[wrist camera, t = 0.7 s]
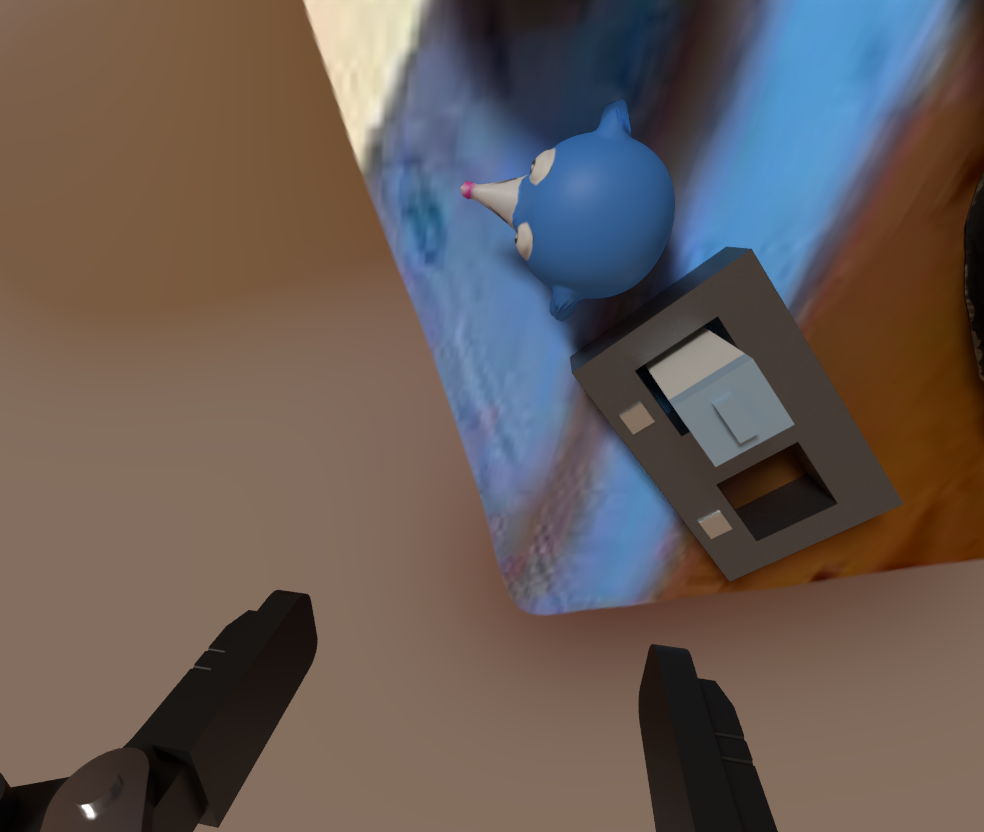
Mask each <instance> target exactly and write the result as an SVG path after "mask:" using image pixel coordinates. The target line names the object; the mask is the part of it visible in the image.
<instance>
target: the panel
mask: <svg viewBox="0 0 984 832" xmlns="http://www.w3.org/2000/svg"><path fill="white" fill-rule="evenodd" d="M708 322H709V323H710V325H711V326H712V328H713V330H714V331H715V333H716V334H717V336H719V337H720V338H722V339H723V340H725V341H726V342H728V343H730V344H731V345H733V346H734V347H736V348H737V349H739V350H740V351H742V352H743V353H745V354H747V355H748V356H750V357H751V358H753V360H754V361H755V363H756V364H757V366H758V367H759V369H760V371H761V372H762V374H763V375H764V377H765V378H766V380H767V382H768V383H769V385H770V386H771V388H772V389H773V391H774V393H775V394H776V396H777V397H778V399H779V400H780V402H781V404H782V405H783V407H784V408H785V410H786V411H787V413H788V415H789V416H790V418H791V419H792V421H793V423H794V424H795V425H793V426H791V427H789V428H787V429H785V430H784V431H782V432H780V433H778V434H776V435H774V436H772V437H771V438H769V439H767V440H765V441H763V442H761V443H759V444H758V445H756V446H754V447H752V448H750V449H748V450H746V451H745V452H743V453H741V454H739V455H737V456H735V457H734V458H732V459H730V460H728V461H726V462H724V463H722V464H721V465H719V466H717V467H715V466H714V464H713V463H712V461H711V460H710V458H709V457H708V456H707V454H706V453H705V451H704V450H703V449H702V447H701V446H700V444H699V443H698V442H697V440H696V439H695V437H694V436H693V434H692V433H691V432H690V430H689V429H688V427H687V426H686V425H685V423H684V422H683V420H682V419H681V417H680V416H679V415H678V413H677V412H676V410H674V411H672V412H670V413H669V414H667V412H666V411H665V410H664V408H663V407H662V405H661V404H660V403H659V401H658V400H657V398H656V397H655V396H654V394H653V393H652V391H651V390H650V389H649V387H648V386H647V384H646V383H645V382H644V380H643V379H642V377H641V376H640V375H639V373H638V372H637V369H638V368H640V367H641V366H643V365H644V364H646V363H647V362H649V361H650V360H652V359H653V358H655V357H656V356H658V355H659V354H661V353H662V352H664V351H666V350H667V349H669V348H670V347H672V346H673V345H675V344H676V343H678V342H679V341H681V340H682V339H684V338H685V337H687V336H688V335H690V334H691V333H693V332H694V331H696V330H697V329H699V328H701V327H702V326H704V325H705V324H707V323H708ZM570 361H571V369H572V374H573V375H574V376H575V378H576V379H577V380H578V382H579V383H580V384H581V386H582V387H583V388H584V390H585V391H586V392H587V394H588V395H589V396H590V398H591V399H592V400H593V402H594V403H595V404H596V406H597V407H598V408H599V410H600V411H601V412H602V413H603V415H604V416H605V417H606V419H607V420H608V421H609V423H610V424H611V425H612V427H613V428H614V429H615V431H616V432H617V433H618V435H619V436H620V437H621V439H622V440H623V441H624V443H625V444H626V445H627V447H628V448H629V449H630V451H631V452H632V453H633V454H634V456H635V457H636V458H637V460H638V461H639V462H640V464H641V465H642V466H643V468H644V469H645V470H646V472H647V473H648V474H649V476H650V477H651V478H652V480H653V481H654V482H655V484H656V485H657V486H658V488H659V489H660V490H661V492H662V493H663V494H664V496H665V497H666V498H667V499H668V501H669V502H670V503H671V505H672V506H673V507H674V509H675V510H676V511H677V513H678V514H679V515H680V517H681V518H682V519H683V521H684V522H685V523H686V525H687V526H688V527H689V529H690V530H691V531H692V533H693V534H694V535H695V537H696V538H697V539H698V541H699V542H700V543H701V544H702V546H703V547H704V548H705V550H706V551H707V552H708V554H709V555H710V556H711V558H712V559H713V560H714V562H715V563H716V564H717V566H718V567H719V568H720V570H721V571H722V572H723V574H724V575H725V576H726V578H727V579H728V580H729V582H730V581H732V580H734V579H737V578H739V577H741V576H743V575H746V574H748V573H750V572H752V571H755V570H757V569H759V568H761V567H764V566H766V565H768V564H770V563H773V562H775V561H777V560H779V559H782V558H784V557H786V556H788V555H791V554H793V553H795V552H797V551H799V550H802V549H804V548H806V547H808V546H811V545H813V544H815V543H817V542H820V541H822V540H824V539H826V538H829V537H831V536H833V535H835V534H838V533H840V532H842V531H844V530H847V529H849V528H851V527H853V526H856V525H858V524H860V523H862V522H865V521H867V520H869V519H871V518H874V517H876V516H878V515H880V514H882V513H885V512H887V511H889V510H891V509H894V508H896V507H898V506H900V505H903V502H902V501H901V499H900V497H899V496H898V494H897V492H896V491H895V489H894V487H893V486H892V484H891V482H890V480H889V479H888V477H887V475H886V474H885V472H884V470H883V469H882V467H881V465H880V464H879V462H878V460H877V459H876V457H875V455H874V454H873V452H872V450H871V449H870V447H869V445H868V444H867V442H866V440H865V438H864V437H863V435H862V433H861V432H860V430H859V428H858V427H857V425H856V423H855V422H854V420H853V418H852V417H851V415H850V413H849V412H848V410H847V408H846V407H845V405H844V403H843V402H842V400H841V398H840V397H839V395H838V393H837V391H836V390H835V388H834V386H833V385H832V383H831V381H830V380H829V378H828V376H827V375H826V373H825V371H824V370H823V368H822V366H821V365H820V363H819V361H818V360H817V358H816V356H815V355H814V353H813V351H812V350H811V348H810V346H809V344H808V343H807V341H806V339H805V338H804V336H803V334H802V333H801V331H800V329H799V328H798V326H797V324H796V323H795V321H794V319H793V318H792V316H791V314H790V313H789V311H788V309H787V308H786V306H785V304H784V302H783V301H782V299H781V297H780V296H779V294H778V292H777V291H776V289H775V287H774V286H773V284H772V282H771V281H770V279H769V277H768V276H767V274H766V272H765V271H764V269H763V267H762V266H761V264H760V262H759V261H758V259H757V257H756V255H755V254H754V252H753V250H752V249H747V248H736V247H725V248H724V249H722V250H721V251H720V252H718V253H717V254H715V255H714V256H713V257H711V258H710V259H708V260H707V261H705V262H704V263H703V264H701V265H700V266H698V267H697V268H696V269H694V270H693V271H691V272H690V273H688V274H687V275H686V276H684V277H683V278H681V279H680V280H679V281H677V282H676V283H674V284H673V285H671V286H670V287H669V288H667V289H666V290H664V291H663V292H662V293H660V294H659V295H657V296H656V297H655V298H653V299H652V300H650V301H649V302H647V303H646V304H645V305H643V306H642V307H640V308H639V309H638V310H636V311H635V312H633V313H632V314H630V315H629V316H628V317H626V318H625V319H623V320H622V321H621V322H619V323H618V324H616V325H615V326H613V327H612V328H611V329H609V330H608V331H606V332H605V333H604V334H602V335H601V336H599V337H598V338H596V339H595V340H594V341H592V342H591V343H589V344H588V345H587V346H585V347H584V348H582V349H581V350H580V351H578V352H577V353H575V354H574V355H572V356H571V357H570ZM787 447H790V448H791V450H792V451H793V453H794V454H795V456H796V458H797V459H798V461H799V462H800V464H801V465H802V467H803V468H804V470H805V471H806V473H807V474H806V475H804V476H802V477H800V478H798V479H796V480H794V481H792V482H790V483H788V484H786V485H784V486H782V487H780V488H778V489H776V490H774V491H772V492H770V493H768V494H766V495H764V496H762V497H760V498H758V499H756V500H754V501H752V502H750V503H748V504H746V505H744V506H742V507H740V508H738V509H735V508H734V506H733V505H732V503H731V502H730V501H729V499H728V498H727V496H726V495H725V494H724V492H723V491H722V489H721V488H720V487H719V485H718V483H720V482H722V481H724V480H726V479H728V478H730V477H732V476H734V475H735V474H737V473H739V472H741V471H743V470H745V469H747V468H749V467H751V466H753V465H754V464H756V463H758V462H760V461H762V460H764V459H766V458H768V457H770V456H772V455H773V454H775V453H777V452H779V451H781V450H783V449H785V448H787Z"/></svg>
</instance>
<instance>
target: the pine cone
mask: <svg viewBox="0 0 984 832" xmlns="http://www.w3.org/2000/svg"><path fill="white" fill-rule="evenodd" d="M965 245H966V262H965V298H966V302H967V307H968V312H969V316H970V323H971V332H972V339H973V345H974V351H975V355H976V361H977V367H978V373H979V377H980V378H981V379H982V380H983V381H984V173H983V174H982V176H981V178H980V180H979V182H978V185H977V189H976V192H975V196H974V199H973V202H972V205H971V208H970V212H969V215H968V219H967V222H966V239H965Z"/></svg>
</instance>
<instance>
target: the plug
mask: <svg viewBox="0 0 984 832" xmlns="http://www.w3.org/2000/svg"><path fill="white" fill-rule="evenodd" d="M645 366H646V367H647V369H648V370H649V372H650V373H651V375H652V376H653V378H654V379H655V381H656V382H657V384H658V385H659V387H660V388H661V390H662V391H663V393H664V394H665V396H666V397H667V399H668V400H669V402H670V403H671V405H672V406H673V408H674V409H675V410H676V412H677V413H678V415H679V416H680V417H681V419H682V420H683V422H684V423H685V425H686V426H687V427H688V429H689V430H690V432H691V433H692V434H693V436H694V437H695V439H696V440H697V442H698V443H699V444H700V446H701V447H702V449H703V450H704V451H705V453H706V454H707V456H708V457H709V458H710V460H711V461H712V463H713V464H714V466H715V467H717V466H719V465H721V464H722V463H724V462H726V461H728V460H730V459H732V458H734V457H735V456H737V455H739V454H741V453H743V452H745V451H746V450H748V449H750V448H752V447H754V446H756V445H758V444H759V443H761V442H763V441H765V440H767V439H769V438H771V437H772V436H774V435H776V434H778V433H780V432H782V431H784V430H785V429H787V428H789V427H791V426H793V425H795V424H794V423H793V421H792V419H791V418H790V416H789V415H788V413H787V411H786V410H785V408H784V407H783V405H782V404H781V402H780V400H779V399H778V397H777V396H776V394H775V393H774V391H773V389H772V388H771V386H770V385H769V383H768V382H767V380H766V378H765V377H764V375H763V374H762V372H761V371H760V369H759V367H758V366H757V364H756V363H755V361H754V360H753V358H751V357H750V356H748V355H747V354H745V353H743V352H742V351H740V350H739V349H737V348H736V347H734V346H733V345H731V344H730V343H728V342H726V341H725V340H723V339H722V338H720V337H719V336H717V335H716V334H714V333H713V332H711V331H709V330H708V329H706V328H705V327H703V326H702V327H701V328H699V329H697V330H696V331H694V332H693V333H691V334H690V335H688V336H687V337H685V338H684V339H682V340H681V341H679V342H678V343H676V344H675V345H673V346H672V347H670V348H669V349H667V350H666V351H664V352H662V353H661V354H659V355H658V356H656V357H655V358H653V359H652V360H650V361H649V362H647V363H646V364H645Z"/></svg>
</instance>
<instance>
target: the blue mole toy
mask: <svg viewBox="0 0 984 832" xmlns="http://www.w3.org/2000/svg"><path fill="white" fill-rule="evenodd" d="M461 191H462V195H463V196H464V197H465V198H467V199H473V200H476V201H478V202H480V203H481V204H483V205H484V206H485V207H487V208H488V209H490V210H491V211H492V212H494V213H495V214H496V215H498V216H499V217H500V218H501V219H502V220H503V221H505V222H506V223H507V224H509V225H510V226H511V227H512V228H513V229H514V230H515V231H516V236H515V244H516V247H517V250H518V252H519V253H520V255H521V256H522V257H524V260H525V262H526V264H527V265H528V267H529V268H530V270H531V271H532V272H533V274H534V275H535V276H536V277H537V278H538V279H539V280H541V281H542V282H543V283H544V284H546V285H547V286H548V287H550V288H551V289H552V291H553V297H552V300H551V302H550V306H549V308H550V313H551V315H552V316H554V317H555V318H556V319H557V320H559V321H564V320H565V319H567V317H568V316H569V315H570V314H571V312H572V311H573V310H574V308H575V307H576V306H577V305H578V303H579V302H580V301H581V299H583V298H584V299H598V298H606V297H611V296H614V295H617V294H620V293H622V292H625V291H627V290H628V289H630V288H632V287H633V286H635V285H636V284H637V283H639V282H640V281H641V280H642V279H643V278H644V277H645V276H646V275H647V274H648V273H649V272H650V271H651V270H652V268H653V267H654V266H655V264H656V263H657V261H658V260H659V258H660V256H661V255H662V253H663V251H664V249H665V247H666V244H667V242H668V239H669V236H670V233H671V229H672V225H673V220H674V212H675V196H674V189H673V184H672V180H671V177H670V175H669V172H668V170H667V169H666V167H665V165H664V164H663V162H662V161H661V160H660V158H659V157H658V156H657V155H656V154H655V153H654V152H653V151H652V150H651V149H649V148H648V147H647V146H645V145H644V144H642V143H641V142H639V141H637V140H635V139H633V138H632V137H631V129H630V121H629V112H628V105H627V102H626V101H625V100H618V101H615V102H613V103H610V104H609V105H607V106H606V108H605V109H604V111H603V113H602V115H601V121H600V125H599V127H598V128H597V129H596V130H595V131H593V132H589V133H584V134H580V135H576V136H573V137H571V138H568V139H566V140H564V141H562V142H561V143H559V144H557V145H556V146H555V147H553V148H552V149H551V150H546V151H544V152H542V153H541V154H540V155H539V156H538V157H537V158H536V159H535V160H534V161H533V163H532V166H531V172H530V174H529V175H526V176H523V177H520V178H514V179H510V180H506V181H501V182H495V183H488V184H480V185H478V184H475V183H473V182H465V183H464V184H463V186H462V187H461Z"/></svg>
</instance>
